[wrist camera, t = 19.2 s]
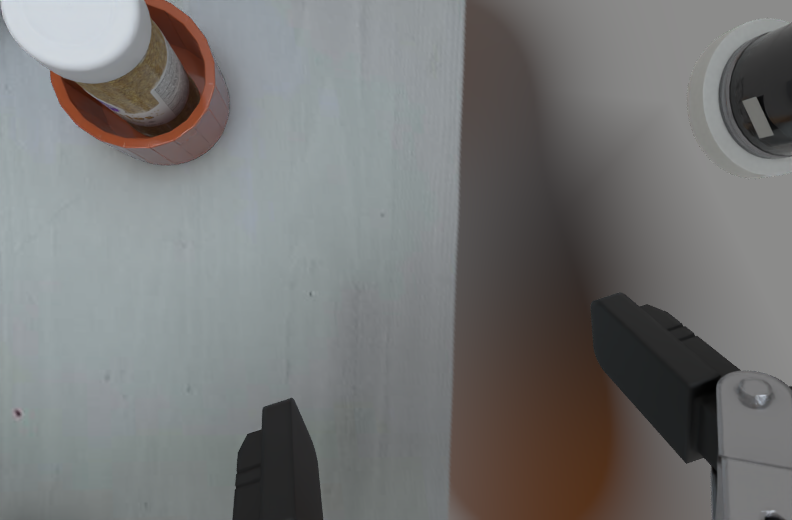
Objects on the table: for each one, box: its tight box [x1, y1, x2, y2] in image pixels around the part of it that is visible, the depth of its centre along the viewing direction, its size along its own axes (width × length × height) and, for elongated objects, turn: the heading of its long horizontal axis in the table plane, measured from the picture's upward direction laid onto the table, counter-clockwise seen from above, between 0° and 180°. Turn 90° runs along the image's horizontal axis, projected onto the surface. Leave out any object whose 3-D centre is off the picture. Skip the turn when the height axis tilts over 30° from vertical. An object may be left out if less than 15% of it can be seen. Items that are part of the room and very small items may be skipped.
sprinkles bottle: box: [0, 0, 200, 137], centre depth 25 cm, size 5×5×13 cm
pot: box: [50, 0, 229, 165], centre depth 29 cm, size 8×8×6 cm
